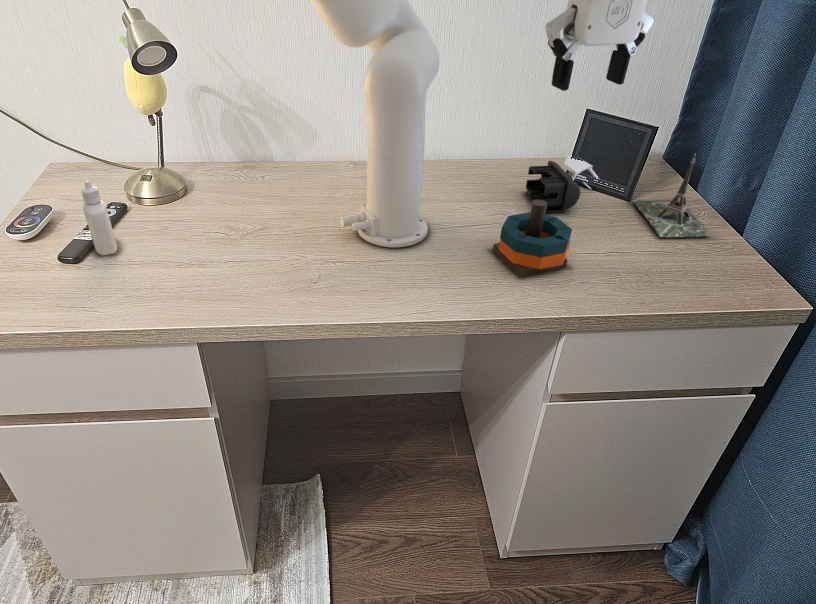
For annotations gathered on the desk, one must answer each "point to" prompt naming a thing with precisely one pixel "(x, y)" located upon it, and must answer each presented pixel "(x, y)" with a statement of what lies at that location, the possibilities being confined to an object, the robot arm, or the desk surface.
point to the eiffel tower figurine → (672, 214)
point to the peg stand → (534, 231)
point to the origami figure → (578, 167)
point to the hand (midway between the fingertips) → (587, 84)
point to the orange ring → (533, 260)
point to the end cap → (552, 188)
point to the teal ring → (532, 244)
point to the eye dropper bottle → (98, 221)
